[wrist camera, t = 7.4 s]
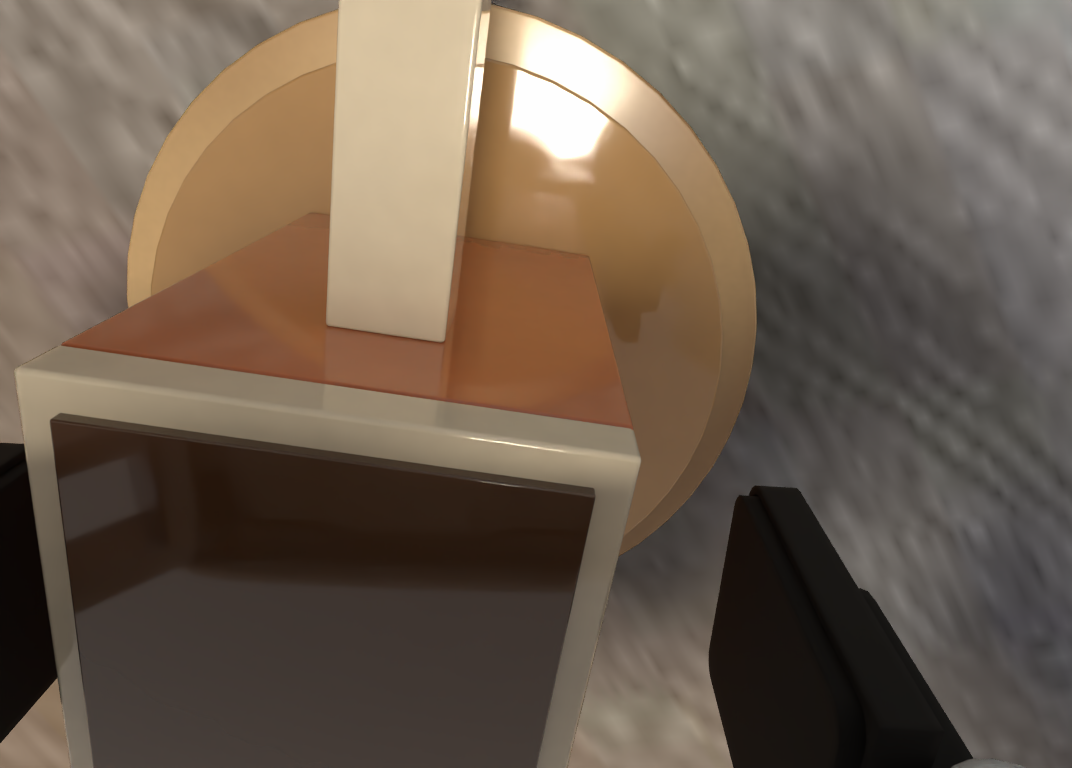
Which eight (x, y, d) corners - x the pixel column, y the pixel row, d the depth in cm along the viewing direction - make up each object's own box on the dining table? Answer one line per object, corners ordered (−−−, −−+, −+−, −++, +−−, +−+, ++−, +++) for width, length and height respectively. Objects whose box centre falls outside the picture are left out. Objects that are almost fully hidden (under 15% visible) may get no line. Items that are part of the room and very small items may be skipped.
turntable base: (868, 245, 17) (894, 258, 16) (537, 644, 22) (537, 678, 21) (313, -155, 14) (290, -180, 13) (75, 409, 19) (40, 432, 18)
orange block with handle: (651, 607, 20) (740, 1051, 11) (174, 543, 19) (-163, 957, 10) (831, -54, 13) (1415, -345, 4) (136, -180, 13) (-837, -814, 4)
